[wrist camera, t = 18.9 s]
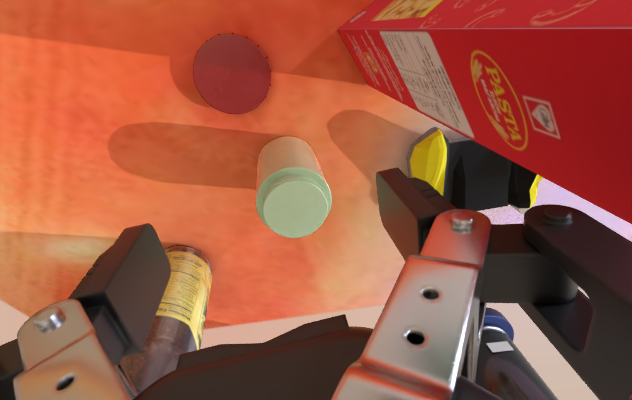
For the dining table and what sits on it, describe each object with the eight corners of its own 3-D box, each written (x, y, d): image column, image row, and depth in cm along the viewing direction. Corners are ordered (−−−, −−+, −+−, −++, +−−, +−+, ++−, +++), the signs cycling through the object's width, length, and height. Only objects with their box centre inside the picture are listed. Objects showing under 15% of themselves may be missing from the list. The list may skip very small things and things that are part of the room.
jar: (326, 174, 33) (347, 221, 25) (276, 201, 34) (281, 256, 26) (299, 124, 31) (312, 159, 23) (245, 154, 31) (239, 198, 23)
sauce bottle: (186, 299, 38) (119, 538, 20) (137, 267, 35) (10, 509, 17) (229, 264, 36) (197, 485, 19) (181, 228, 34) (92, 446, 16)
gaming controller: (397, 120, 32) (397, 213, 36) (421, 136, 27) (417, 242, 31) (548, 98, 33) (529, 191, 37) (597, 110, 28) (569, 215, 33)
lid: (218, 15, 26) (215, 15, 25) (284, 64, 28) (286, 65, 27) (181, 83, 28) (178, 86, 27) (247, 124, 30) (247, 128, 29)
